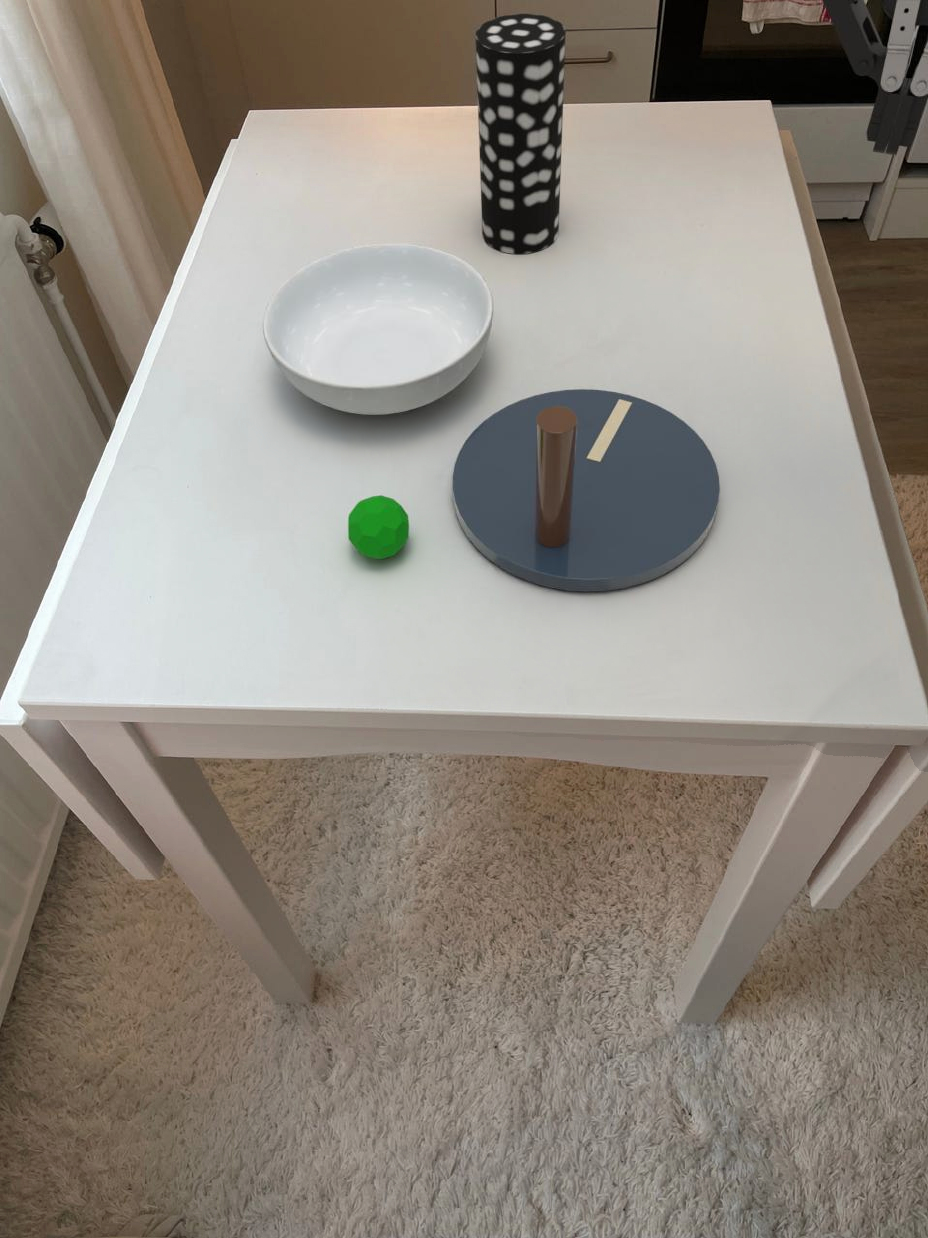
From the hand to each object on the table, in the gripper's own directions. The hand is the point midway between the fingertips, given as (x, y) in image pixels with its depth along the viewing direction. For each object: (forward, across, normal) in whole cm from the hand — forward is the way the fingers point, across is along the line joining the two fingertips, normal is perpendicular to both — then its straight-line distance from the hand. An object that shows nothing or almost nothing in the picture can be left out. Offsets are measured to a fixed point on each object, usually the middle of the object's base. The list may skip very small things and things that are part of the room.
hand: (887, 147), depth 60 cm
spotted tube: (+27, -35, +24) cm, 50 cm away
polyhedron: (+27, -28, -22) cm, 45 cm away
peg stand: (+27, -15, -10) cm, 32 cm away
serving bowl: (+27, -38, -2) cm, 47 cm away
